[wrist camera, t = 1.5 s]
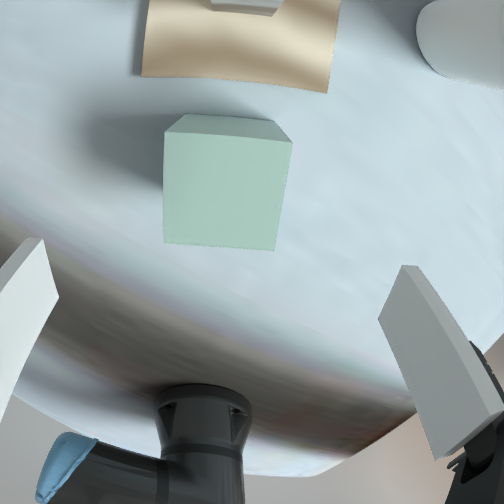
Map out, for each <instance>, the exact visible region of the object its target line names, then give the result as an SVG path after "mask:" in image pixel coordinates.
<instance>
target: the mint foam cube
mask: <svg viewBox="0 0 504 504" xmlns="http://www.w3.org/2000/svg"><path fill="white" fill-rule="evenodd" d="M292 144H293V143H292V141H291V140H290V139H289V138H288V137H287V135H286V134H285V133H284V132H283V131H282V129H281V128H280V127H279V126H278V125H277V123H276V122H275V121H268V120H259V119H250V118H240V117H229V116H216V115H200V114H185V115H183V116H182V117H181V118H180V119H179V120H178V121H176V122H175V123H174V124H173V125H172V126H171V127H170V128H169V129H167V130H166V131H165V133H164V162H163V238H164V243H169V244H183V245H197V246H211V247H225V248H239V249H253V250H266V251H274V248H275V242H276V237H277V231H278V226H279V220H280V214H281V209H282V203H283V197H284V191H285V186H286V180H287V174H288V168H289V162H290V156H291V150H292Z"/></svg>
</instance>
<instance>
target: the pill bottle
mask: <svg viewBox="0 0 504 504" xmlns="http://www.w3.org/2000/svg"><path fill="white" fill-rule="evenodd" d="M416 36H417V41H418V45H419V47H420V50H421V52H422V54H423V56H424V58H425V59H426V61H427V62H428V63H429V65H430V66H431V67H432V68H433V69H434V70H435V71H437V72H438V73H439V74H441V75H442V76H444V77H446V78H449V79H452V80H455V81H460V82H465V83H469V84H474V85H478V86H482V87H486V88H490V89H494V90H497V91H501V92H504V0H437V1H434V2H431V3H429V4H428V5H426V6H425V7H424V8H423V9H422V10H421V12H420V13H419V16H418V18H417V23H416Z"/></svg>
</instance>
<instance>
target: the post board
mask: <svg viewBox="0 0 504 504" xmlns="http://www.w3.org/2000/svg"><path fill="white" fill-rule="evenodd" d="M340 1H341V0H150V2H149V8H148V16H147V23H146V31H145V40H144V49H143V60H142V72H141V77H194V78H214V79H227V80H239V81H249V82H258V83H266V84H274V85H281V86H287V87H294V88H300V89H306V90H311V91H316V92H322V93H327V90H328V84H329V78H330V71H331V65H332V59H333V52H334V45H335V38H336V31H337V24H338V17H339V9H340Z"/></svg>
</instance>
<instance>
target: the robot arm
mask: <svg viewBox="0 0 504 504" xmlns="http://www.w3.org/2000/svg"><path fill="white" fill-rule="evenodd" d="M58 298H59V296H58V293H57V290H56V287H55V283H54V280H53V276H52V273H51V269H50V266H49V262H48V258H47V254H46V250H45V246H44V241H43V239H40V238H26V240H25V241H24V242H23V243H22V244H21V245H20V246H19V247H18V248H17V250H16V251H15V252H14V253H13V254H12V255H11V257H10V258H9V259H8V260H7V261H6V262H5V264H4V265H3V266H2V267H1V268H0V422H1V419H2V417H3V414H4V411H5V409H6V406H7V403H8V401H9V399H10V396H11V394H12V391H13V389H14V387H15V384H16V382H17V380H18V377H19V375H20V373H21V371H22V368H23V366H24V364H25V362H26V360H27V358H28V356H29V354H30V351H31V349H32V347H33V345H34V343H35V341H36V339H37V337H38V335H39V333H40V331H41V330H42V328H43V326H44V324H45V322H46V320H47V318H48V316H49V315H50V313H51V311H52V309H53V307H54V306H55V304H56V302H57V300H58ZM378 321H379V323H380V325H381V327H382V329H383V332H384V334H385V336H386V338H387V340H388V343H389V345H390V347H391V349H392V352H393V354H394V356H395V358H396V361H397V363H398V365H399V368H400V370H401V372H402V375H403V377H404V380H405V382H406V384H407V387H408V389H409V392H410V394H411V397H412V399H413V402H414V404H415V407H416V409H417V412H418V415H419V417H420V420H421V422H422V425H423V428H424V431H425V433H426V436H427V439H428V442H429V445H430V447H431V450H432V453H433V456H434V459H435V461H436V460H439V459H442V458H445V457H447V456H450V455H452V454H454V453H455V452H456V451H458V450H459V449H460V448H462V447H463V446H464V449H465V452H464V453H462V454H461V455H459V456H458V457H457V458H455V459H454V460H453V461H451V462H450V463H449V464H448V466H447V469H450V468H451V467H453V466H454V465H456V464H457V463H458V462H459V463H458V465H457V466H456V467H455V468H454V469H453V470H452V471H454V472H456V473H455V476H454V479H453V482H452V485H451V488H450V491H449V494H448V496H447V499H446V502H445V504H504V392H503V390H502V388H501V386H500V384H499V382H498V380H497V379H496V377H495V375H494V374H492V370H491V368H490V367H489V365H487V361H486V359H485V358H484V356H483V354H482V353H481V351H480V350H479V349H478V348H477V347H476V346H475V345H474V344H473V343H472V342H471V341H468V339H467V338H466V336H465V334H464V333H463V331H462V330H461V328H460V327H459V325H458V323H457V322H456V320H455V319H454V317H453V316H452V314H451V313H450V311H449V310H448V308H447V307H446V305H445V304H444V302H443V301H442V299H441V298H440V296H439V295H438V294H437V292H436V291H435V289H434V288H433V286H432V285H431V284H430V282H429V281H428V279H427V278H426V277H425V275H424V274H423V273H422V271H421V270H420V269H419V267H418V266H409V265H402V267H401V269H400V271H399V274H398V276H397V278H396V281H395V283H394V285H393V287H392V290H391V292H390V294H389V296H388V298H387V301H386V303H385V305H384V307H383V309H382V311H381V313H380V315H379V317H378ZM154 419H155V423H156V427H157V431H158V436H159V440H160V444H161V458H160V459H159V458H154V457H151V456H147V455H143V454H140V453H136V452H133V451H129V450H126V449H123V448H119V447H116V446H113V445H110V444H107V443H104V442H101V441H98V439H96V438H94V439H92V438H89V437H85V436H82V435H79V434H76V433H73V432H64V433H62V434H61V435H59V436H58V438H57V439H56V441H55V442H54V444H53V446H52V448H51V450H50V452H49V454H48V456H47V459H46V461H45V463H44V466H43V468H42V472H41V474H40V477H39V480H38V484H37V490H36V494H35V499H36V501H37V502H38V503H40V504H245V493H244V476H243V460H242V453H243V449H244V446H245V443H246V440H247V437H248V433H249V430H250V427H251V424H252V408H251V405H250V403H249V401H248V400H247V399H246V398H244V397H243V396H242V395H240V394H238V393H236V392H234V391H231V390H228V389H225V388H221V387H217V386H210V385H182V386H176V387H172V388H169V389H167V390H165V391H163V392H162V393H160V394H159V395H158V396H157V398H156V400H155V407H154Z"/></svg>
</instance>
